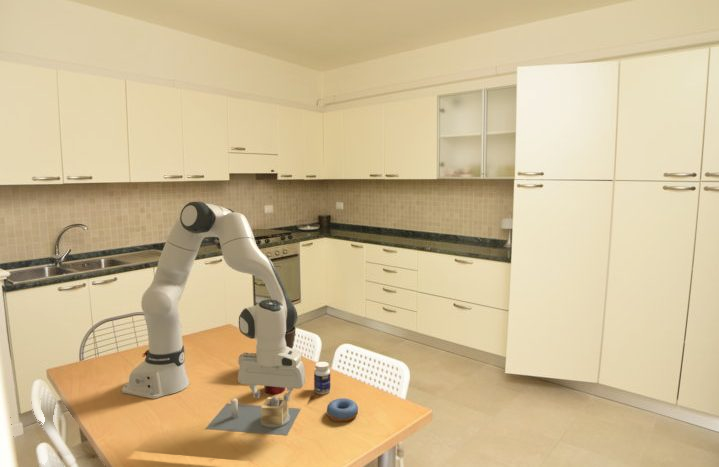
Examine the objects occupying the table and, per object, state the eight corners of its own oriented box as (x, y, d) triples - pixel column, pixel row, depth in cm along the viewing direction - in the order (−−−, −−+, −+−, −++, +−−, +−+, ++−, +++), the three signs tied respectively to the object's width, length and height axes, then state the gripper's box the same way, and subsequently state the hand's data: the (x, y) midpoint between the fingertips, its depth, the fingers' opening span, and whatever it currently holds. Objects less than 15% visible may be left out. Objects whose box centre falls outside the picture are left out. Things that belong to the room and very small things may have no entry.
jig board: (205, 433, 133) (203, 405, 132) (227, 407, 148) (225, 382, 147) (287, 440, 130) (286, 411, 129) (301, 413, 144) (300, 387, 143)
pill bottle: (324, 396, 155) (323, 368, 154) (311, 392, 158) (310, 365, 157) (333, 389, 160) (333, 362, 159) (320, 385, 163) (320, 359, 162)
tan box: (261, 423, 135) (260, 407, 134) (268, 412, 141) (268, 396, 141) (282, 424, 134) (281, 408, 133) (288, 413, 140) (288, 398, 140)
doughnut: (347, 426, 136) (347, 411, 136) (320, 419, 141) (320, 404, 141) (363, 414, 145) (363, 400, 145) (337, 408, 150) (337, 394, 150)
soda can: (281, 399, 153) (280, 365, 152) (261, 397, 155) (259, 364, 153) (288, 389, 160) (287, 357, 159) (269, 387, 162) (268, 355, 160)
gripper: (233, 356, 133) (234, 400, 135) (301, 361, 130) (301, 407, 132) (242, 348, 139) (243, 390, 141) (306, 353, 136) (306, 396, 138)
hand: (271, 398), depth 136 cm, fingers open, 8 cm apart
